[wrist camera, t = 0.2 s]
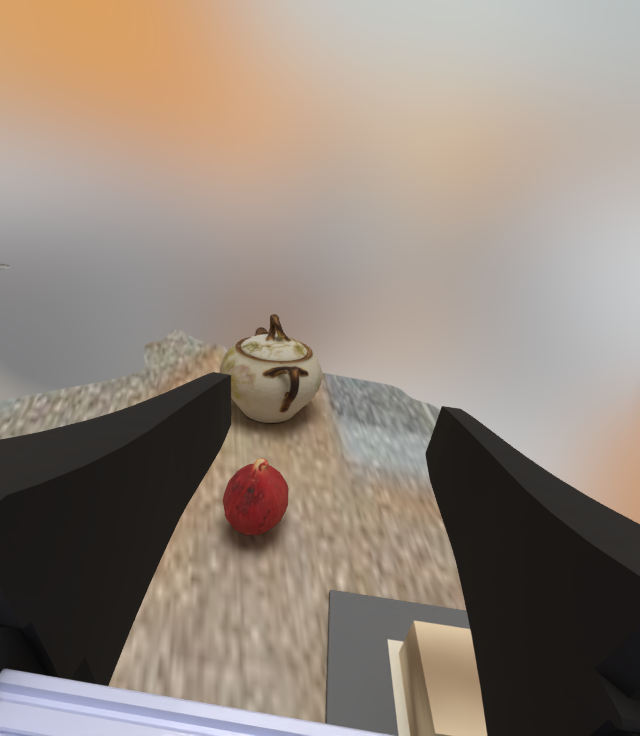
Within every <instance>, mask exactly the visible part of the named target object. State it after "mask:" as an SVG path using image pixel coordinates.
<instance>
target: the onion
mask: <svg viewBox="0 0 640 736" xmlns="http://www.w3.org/2000/svg"><path fill="white" fill-rule="evenodd" d="M268 464H269V463H268V461H267V460H265V459H264V458H261V459H257V460H256V462H255V463H254V464H249V465H247V466H245V467H243V468H241V469H240V470H238V471H237V472H236V474H235V475H234V476H233V477H232V478H231V479H230V480H229V482H228V485H227V487H226V490H225V493H224V497H223V504H224V510H225V516H226V519H227V520H228V521H229V523H230V524H231V525H232V527H233V528H234V529H235V530H236V531H238V532H240V533H243V534H245V535H259V534H261V533H264V532H266V531H268V530H270V529H271V528H273V527H274V526H275V525H276V524H277V523H278V522H280V521H281V519H282V517H283V515H284V513H285V511H286V508H287V506H288V486H287V483H286V481H285V480H284V478H283V476H282V475H281V473H280V472H279V471H277V470H276V469H275V468H273V467H272V466H269V465H268Z"/></svg>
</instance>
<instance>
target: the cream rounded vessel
mask: <svg viewBox="0 0 640 736" xmlns="http://www.w3.org/2000/svg"><path fill="white" fill-rule="evenodd" d="M276 331H277V335H276V334H275V333H276ZM220 373H222V374H229V375H231V398H232V400H233V401H234V402H235V403H236V404H237V405H238V407H239V408H240V409H241V410H242V412H243V413H244V414H245V415H246V416H247V417H249V418H251V419H253V420H255V421H258V422H264V423H278V422H283V421H286V420H289V419H290V418H292V417H293V416H294V415H295V413H297V412H298V411H299V410H300V409H301V408H303V407H304V406H305V405H306V404H307V403H308V402H309V401H310V400H311V399H312V398H313V397H314V396H315V394H316V393H317V391H318V389H319V387H320V385H321V380H322V371H321V367H320V364H319V361H318V359H317V358H316V356H315V355H314V354H313V353H312V350H311V349H310V348H309V347H308V346H307V345H305V344H303V343H301V342H298V341H296V340H294V339H292V338H290V337H287V336H286V335H285V333H284V332H283V330H282V327H281V324H280V321H279V317H278V316H277V315H271V316H270V329H269V333H268V332H267V331H266V329H264V328H258V329H257V331H256V334H255V336H254V337H249V338H245V339H242V340H240V341H239V342H238V343H237V344H236V345H235V346H233V347H232V348H231V349H230V350H229V351H228V352H227V353H226V354H225V355H224V357H223V359H222V362H221V365H220Z"/></svg>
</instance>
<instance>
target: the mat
mask: <svg viewBox="0 0 640 736" xmlns="http://www.w3.org/2000/svg"><path fill="white" fill-rule="evenodd" d="M413 621H421V622H427V623H434V624H440V625H446V626H453V627H459V628H466V629H470V625H469V620H468V615H467V611H464V610H458V609H451V608H445V607H438V606H432V605H425V604H419V603H412V602H406V601H399V600H393V599H387V598H380V597H374V596H367V595H361V594H354V593H348V592H341V591H335V590H330V593H329V622H328V656H327V691H326V724H330V725H336V726H341V727H347V728H353V729H359V730H365V731H370V732H376V733H382V734H388V735H394V736H410V731H409V723H408V716H407V709H406V702H405V695H404V688H403V680H402V673H401V666H400V659H399V651H400V649H401V647H402V644H403V642H404V640H405V638H406V636H407V634H408V632H409V630H410V628H411V625H412V623H413Z"/></svg>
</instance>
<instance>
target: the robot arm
mask: <svg viewBox="0 0 640 736" xmlns="http://www.w3.org/2000/svg"><path fill="white" fill-rule="evenodd" d="M230 426H231V375H229V374H222V373H215V372H213V373H210V374H207V375H204V376H202V377H200V378H197V379H195V380H193V381H191V382H188V383H186V384H184V385H182V386H180V387H177V388H175V389H173V390H171V391H168V392H166V393H164V394H161V395H159V396H156V397H154V398H151V399H149V400H146V401H144V402H141V403H139V404H136V405H134V406H131V407H128V408H125V409H122V410H119V411H116V412H113V413H110V414H107V415H104V416H100V417H97V418H94V419H90V420H87V421H83V422H79V423H75V424H71V425H67V426H63V427H59V428H55V429H51V430H47V431H42V432H38V433H33V434H28V435H23V436H18V437H12V438H7V439H1V440H0V736H394V735H388V734H382V733H376V732H370V731H365V730H359V729H353V728H347V727H341V726H336V725H330V724H324V723H318V722H312V721H306V720H301V719H295V718H289V717H283V716H277V715H272V714H266V713H260V712H254V711H248V710H243V709H237V708H231V707H225V706H219V705H214V704H208V703H202V702H196V701H190V700H185V699H179V698H173V697H167V696H161V695H156V694H150V693H144V692H138V691H132V690H126V689H121V688H115V687H109V686H108V685H109V683H110V680H111V677H112V675H113V672H114V670H115V667H116V665H117V662H118V660H119V657H120V655H121V652H122V650H123V647H124V645H125V642H126V640H127V637H128V635H129V632H130V630H131V627H132V625H133V622H134V620H135V618H136V615H137V613H138V611H139V608H140V606H141V603H142V601H143V599H144V596H145V594H146V592H147V589H148V587H149V584H150V582H151V580H152V578H153V576H154V573H155V571H156V569H157V567H158V564H159V562H160V560H161V558H162V555H163V553H164V551H165V549H166V547H167V545H168V542H169V540H170V538H171V536H172V534H173V532H174V530H175V528H176V525H177V523H178V521H179V519H180V517H181V515H182V513H183V512H184V510H185V508H186V506H187V504H188V503H189V501H190V499H191V498H192V496H193V494H194V493H195V491H196V489H197V488H198V486H199V484H200V483H201V481H202V479H203V478H204V476H205V474H206V473H207V471H208V469H209V468H210V466H211V464H212V463H213V461H214V459H215V458H216V456H217V454H218V453H219V451H220V449H221V447H222V445H223V442H224V440H225V438H226V436H227V433H228V431H229V428H230ZM426 460H427V466H428V472H429V477H430V482H431V485H432V488H433V491H434V494H435V497H436V501H437V504H438V507H439V510H440V513H441V516H442V519H443V522H444V525H445V528H446V531H447V534H448V537H449V540H450V543H451V546H452V549H453V553H454V556H455V560H456V564H457V568H458V573H459V577H460V582H461V586H462V591H463V595H464V600H465V605H466V610H467V615H468V620H469V625H470V631H471V636H472V641H473V647H474V653H475V659H476V665H477V671H478V676H479V682H480V688H481V695H482V702H483V709H484V716H485V723H486V730H487V736H640V524H638V523H636V522H634V521H632V520H630V519H629V518H627V517H625V516H623V515H621V514H619V513H617V512H615V511H614V510H612V509H610V508H608V507H606V506H604V505H602V504H600V503H599V502H597V501H595V500H593V499H592V498H590V497H588V496H586V495H585V494H583V493H581V492H580V491H578V490H576V489H575V488H573V487H572V486H570V485H568V484H567V483H565V482H563V481H562V480H560V479H559V478H557V477H555V476H554V475H552V474H551V473H549V472H548V471H546V470H545V469H543V468H542V467H540V466H539V465H537V464H536V463H534V462H533V461H532V460H530V459H529V458H527V457H525V456H524V455H523V454H522V453H520V452H519V451H517V450H516V449H514V448H513V447H512V446H511V445H509V444H508V443H507V442H505V441H504V440H503V439H501V438H500V437H499V436H497V435H496V434H495V433H493V432H492V431H491V430H490V429H488V428H487V427H485V426H484V425H483V424H481V423H480V422H479V421H478V420H476V419H475V418H473V417H472V416H471V415H469V414H468V413H466V412H465V411H463V410H461V409H457V408H450V407H444V406H442V408H441V411H440V413H439V416H438V419H437V422H436V425H435V428H434V431H433V434H432V437H431V440H430V442H429V445H428V448H427V451H426Z"/></svg>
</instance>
